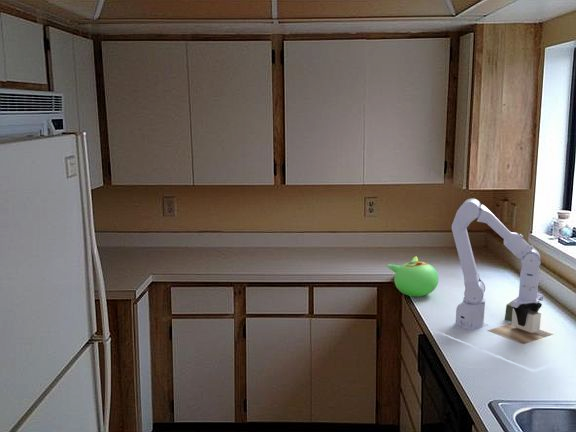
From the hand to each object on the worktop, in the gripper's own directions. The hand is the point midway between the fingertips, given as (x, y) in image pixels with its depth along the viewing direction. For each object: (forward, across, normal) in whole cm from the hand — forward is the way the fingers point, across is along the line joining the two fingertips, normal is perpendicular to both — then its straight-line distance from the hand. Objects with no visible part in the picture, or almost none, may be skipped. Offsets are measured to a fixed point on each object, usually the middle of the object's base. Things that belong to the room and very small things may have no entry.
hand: (525, 324), depth 201 cm
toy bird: (+3, -2, +50) cm, 50 cm away
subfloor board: (+3, -3, 0) cm, 4 cm away
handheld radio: (+3, +16, +13) cm, 21 cm away
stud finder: (+1, 0, 0) cm, 1 cm away
